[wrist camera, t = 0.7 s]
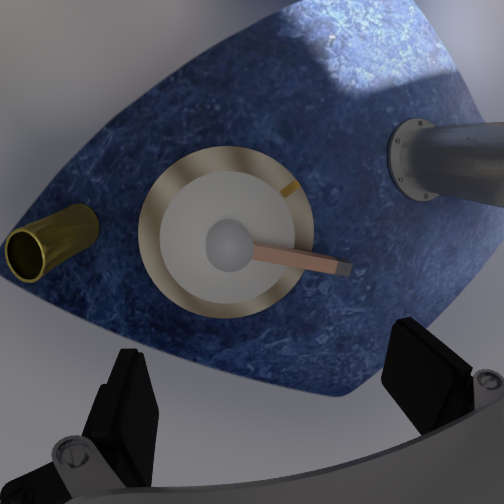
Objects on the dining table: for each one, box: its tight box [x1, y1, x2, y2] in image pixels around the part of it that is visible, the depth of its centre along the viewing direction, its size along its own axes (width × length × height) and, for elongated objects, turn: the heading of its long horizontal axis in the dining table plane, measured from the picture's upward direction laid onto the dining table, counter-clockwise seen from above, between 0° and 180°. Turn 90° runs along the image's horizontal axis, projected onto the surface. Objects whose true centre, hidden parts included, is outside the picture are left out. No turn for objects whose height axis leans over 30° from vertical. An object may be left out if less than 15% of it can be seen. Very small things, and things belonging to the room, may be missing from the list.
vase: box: [5, 204, 99, 283], centre depth 29 cm, size 6×6×14 cm
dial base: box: [138, 146, 314, 318], centre depth 38 cm, size 22×22×2 cm
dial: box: [160, 171, 353, 303], centre depth 35 cm, size 22×16×6 cm
